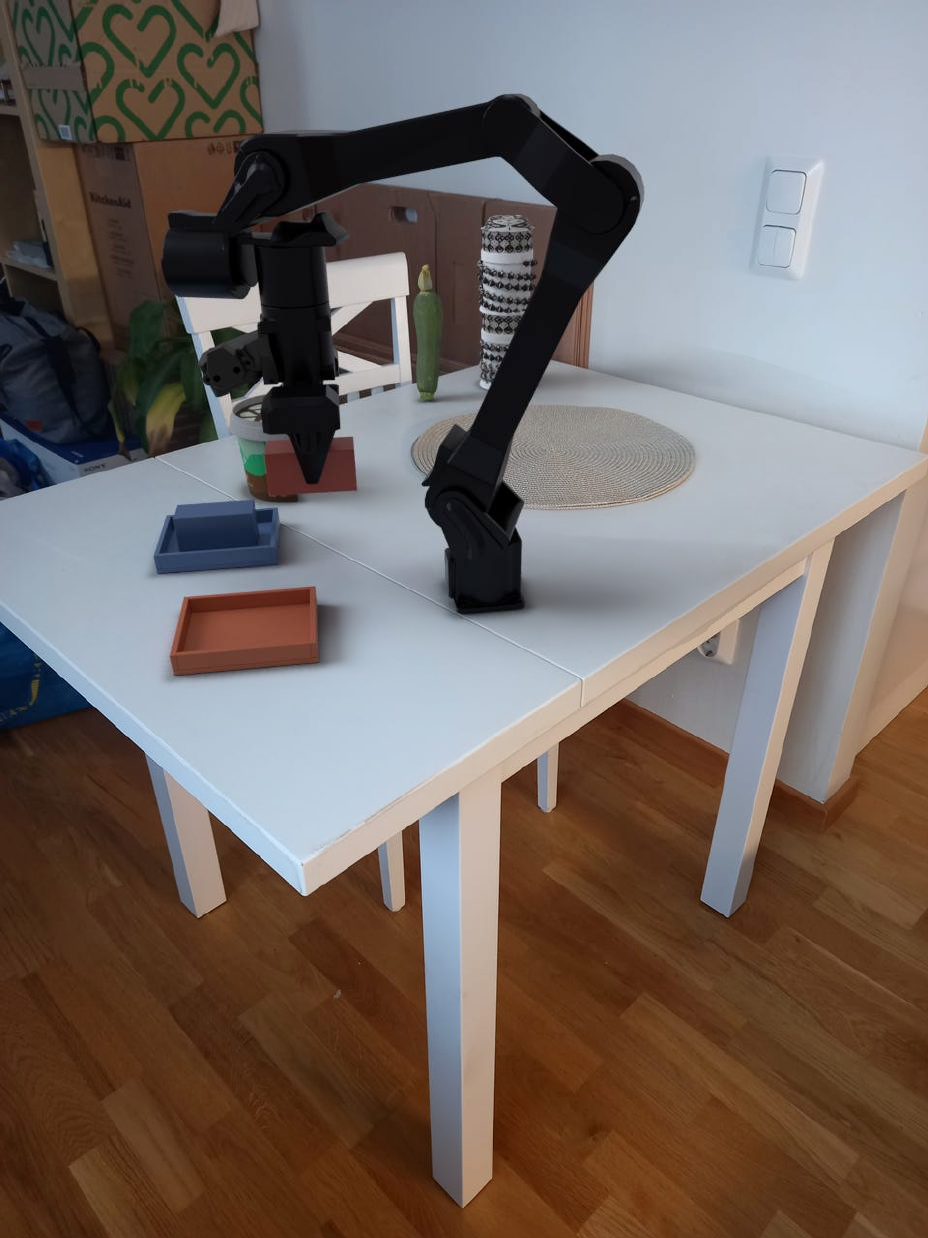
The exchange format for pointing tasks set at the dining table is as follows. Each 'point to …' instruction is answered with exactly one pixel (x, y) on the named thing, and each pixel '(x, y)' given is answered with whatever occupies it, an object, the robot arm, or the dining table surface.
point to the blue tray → (262, 554)
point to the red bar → (290, 479)
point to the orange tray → (246, 631)
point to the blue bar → (216, 525)
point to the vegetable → (427, 335)
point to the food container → (255, 447)
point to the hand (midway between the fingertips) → (312, 475)
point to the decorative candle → (503, 286)
